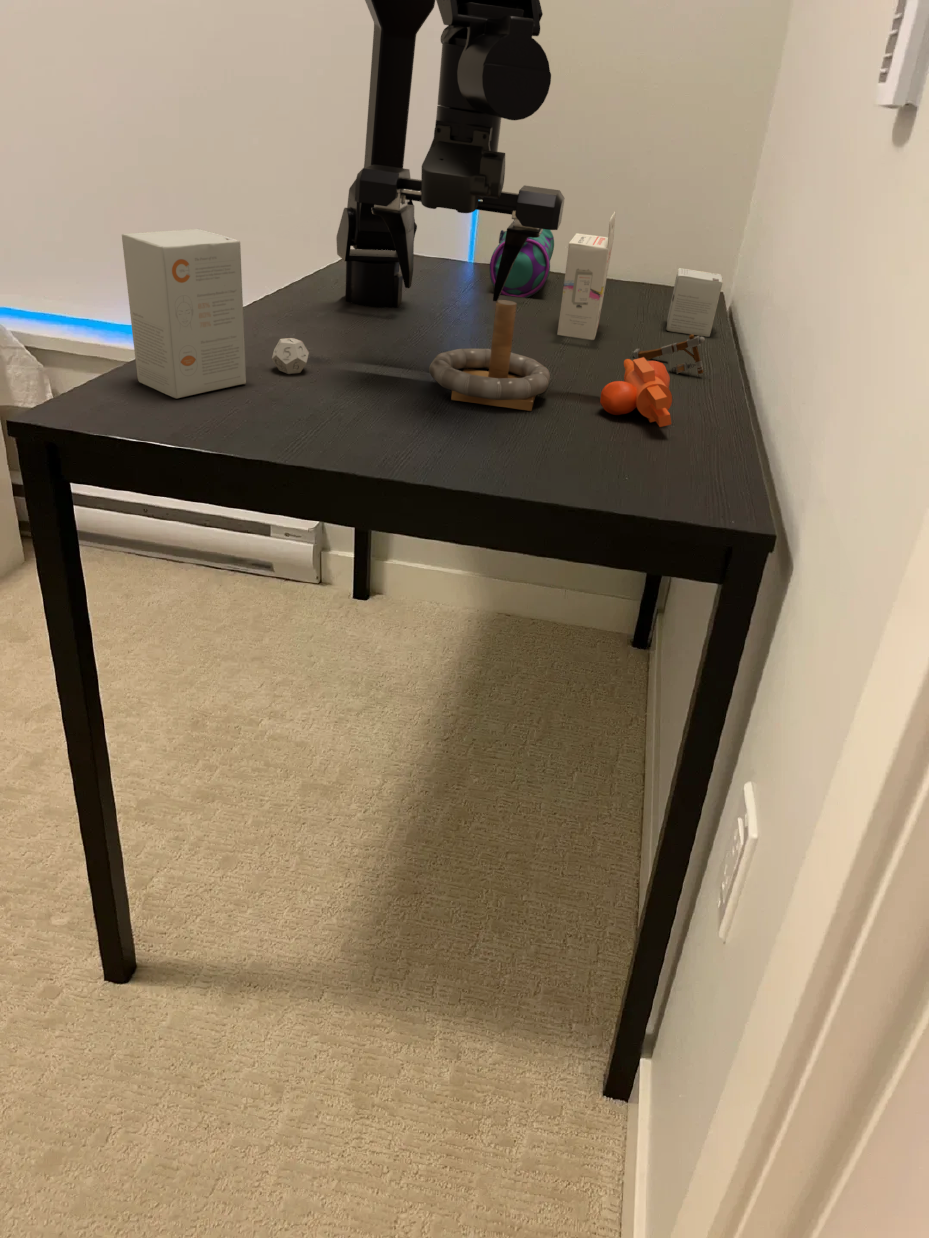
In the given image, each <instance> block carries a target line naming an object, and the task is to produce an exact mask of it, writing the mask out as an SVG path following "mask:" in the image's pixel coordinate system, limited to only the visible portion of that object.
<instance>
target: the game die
mask: <svg viewBox="0 0 929 1238" xmlns="http://www.w3.org/2000/svg"><path fill="white" fill-rule="evenodd" d="M309 353H310V351H309V350H308V349H307V347H306V346H305V343H304V342H303V340H300V339H297V338H294V337H288V338H285V337H284V338H279V340H278V342H277V344H276V345H275V347H274V349H273V353H272V357H271V360H272V362H273V363H274V365H275V367H276V368H277V370H278V371H279V372H282V373H285V374H288V375H291V374H300V373H301V372H302V371H303V369H304V368H305V366H306V365H307V362H308V358H309Z"/></svg>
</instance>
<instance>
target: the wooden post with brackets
mask: <svg viewBox="0 0 929 1238" xmlns="http://www.w3.org/2000/svg"><path fill="white" fill-rule="evenodd" d="M705 341H706V337H705V336H698V335H696V336H695V335H693V334H689V335H688V338H687V340H684V341H680V342H677V341H676V342H674V343H671V344H668V345H663V346H661V347H659V348H654V349H647V350H641V349H640V347H639V348H636V349H635V350H634V351H633V356H634V360H635V359H639V358H643V357H644V358H645V359H646V360H647V361H650V360H652V359H655V358H658V357H664V356H665V357H666V356H667V355H672V354H674V353H675V354H676V353H678V352H679V351H684V352H685V353H686V354H688V355H689V356H690V357H691V358H692V359H693V360H694V361H695V362H694V363H691V362H690V363H689V364H688V363H687V362H686V361H684V362H683V363H680V364H678V363H677V364H676V365H675V366H673V367H672V368H671V372H672V373H676V375H678V374H679V373H683V372H684V373H688V370H689V369H690V370H691V369H693V368H694V367H695V369H696V371H697V374H698V375H700V374H703V373H704V372H705V371H704V367H703V361H702V359H701V356H700V352H699V347H698V346H701V344H704V343H705ZM689 349H692V352H691V351H689Z"/></svg>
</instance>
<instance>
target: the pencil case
mask: <svg viewBox="0 0 929 1238" xmlns="http://www.w3.org/2000/svg"><path fill="white" fill-rule="evenodd" d="M506 231H507V230H503V229H500V232H499V236H498V245H497V246H496V247H495V249H494V251H493V252H492V255H491V257H490V262H489V268H488V269H489V278H490V281H491V284H492V286H493V287H494V285H495V281H496V277H497V273H498V269H499V264H500V260H501V256H502V252H503V248H504V243H505V237H506ZM554 248H555V237H554V234H553V232H552V230H547V229H543V231H542V233H541V234H540V236H539V237H538V238H532V237H528V238H527V240H526V242H525V243H524V245H523V247H522V249H521V250H520V252H519V254H518V256H517V258H516V260H515V262H514V264H513V266H512V269H511V271H510V273H509V275H508V278H507V280H506V282H505V285H504V287H503V289H502V291H501V294H500V296H501V295H502V296H508V297H517V298H523V299H527V298H529V297H531V296H533V295H535V294H536V293H538V292H539V291H540V290H541V289H542V288H543V287H544V285H545V284H546V282H547V281H548V278H549V276H550V271H551V259H552V256H553V255H554Z"/></svg>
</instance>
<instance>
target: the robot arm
mask: <svg viewBox="0 0 929 1238" xmlns="http://www.w3.org/2000/svg"><path fill="white" fill-rule="evenodd" d="M364 2H365V4H366V7H367V9H368V12H369V14H370V17H371V19H372V21H373V36H372V50H371V63H370V78H369V91H368V105H367V106H368V107H367V108H368V109H367V121H366V132H365V133H366V134H365V148H364V163H363V168H361V170H360V171H358V173H357V174H356V178H355V179H354V181H353V182H352V184H351V185H350V187H349V189H348V196H347V206H346V207H344V208H343V211H342V214H341V218H340V222H339V224H338V229H337V233H336V238H335V240H336V254H337V256H338V257H339V258H340V259H342V261H344V262H345V293H344V296H345V297H344V301H345V302H346V303H351V304H354V305H357V306H361V307H365V308H389V309H392V308H394V309H398V308H399V307H400V306H401V305H402V300H403V285H404V288H405V289H410V288H411V287H412V283H413V275H414V256H415V255H414V251H415V237H416V232H417V230H418V225H417V224H418V223H416V219H415V205H414V202H420V203H421V205H422V206H423V207H424V208H427V209H432V210H436V209H437V208H441V209H448V210H454V211H456V212H457V213H459V214H471V213H474V212H475V211H483V212H491V213H497V214H504V215H510V216H511V220H512V222H511V223H510V224H509V225H508V227H506V230H505V231H506V237H505V243H504V248H503V252H502V256H501V260H500V264H499V269H498V273H497V277H496V281H495V285H494V286H493V295H492V301H493V302H496V301H498V300H499V298H500V297H501V291H502V289H503V287H504V285H505V282H506V280H507V278H508V275H509V273H510V271H511V269H512V266H513V264H514V262H515V260H516V258H517V256H518V254H519V252H520V250H521V249H522V247H523V245H524V243H525V242H526V240H527V238H528V237H532V238H538V237H539V236H540V234H541V233H542V231H543V229H547V230H551V231H558V230H559V228H560V226H561V223H562V219H563V212H564V206H565V196H564V195H563V193H562V191H561V190H560V189H553V188H548V187H547V188H546V187H539V186H531V185H527V184H525V185H523V186H522V187H520V189H519V190H518V193H517V192H510V191H503V190H504V189H503V188H504V184H505V177H506V152H502V151H498V150H499V143H500V133H501V127H502V126H501V124H502V119H504V120H509V121H520V120H521V121H522V120H525V119H527V118H529V117H530V116H533V114H535V113H537V111H538V110H539V109H540V108H541V107H542V105H543V104H544V103H545V101H546V98H547V96H548V94H549V91H550V87H551V82H552V73H551V69H550V68H551V67H550V62H549V60H548V59H549V58H548V55H547V54H546V52H545V50H544V49H543V46H542V45H541V44H540V43H539V42H538V41H537V40H536V39H534V37H539V36H540V34H541V20H542V18H543V14H544V13H543V10H542V9H543V8H542V5H541V1H540V0H364ZM435 5H437V7H438V11H439V14H440V17H441V21H442V23H443V25H444V26H446V27H445V28H443V30H442V33H441V34H440V44H442V45H441V56H440V68H439V70H440V71H439V82H438V93H437V103H436V104H437V105H436V106H437V107H436V116H435V117H436V118H435V125H434V131H433V139H432V141H431V144H430V146H429V149H428V151H427V153H426V156H425V157H424V160H423V162H422V163H421V178H420V179H419V178H411V171H410V168H404V163H405V152H406V141H407V134H408V133H407V132H408V122H409V121H408V120H409V112H410V101H411V91H412V82H413V81H412V80H413V72H414V71H413V70H414V62H415V61H414V60H415V53H416V52H415V50H416V42H417V35H418V32H419V31H420V30H421V28H422V26H423V25H424V24H425V23H426V21H427V19H428V18H429V16H430V15H431V13H432V11H433V10H434V8H435ZM351 247H353V248H351Z"/></svg>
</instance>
